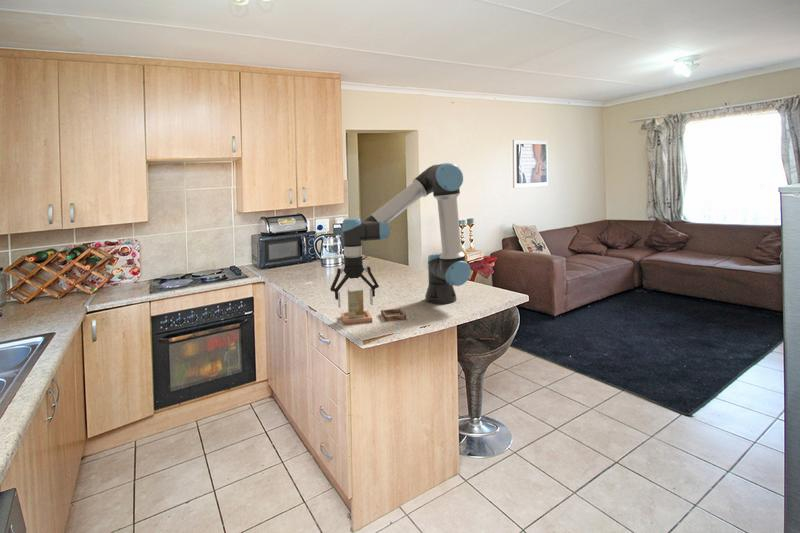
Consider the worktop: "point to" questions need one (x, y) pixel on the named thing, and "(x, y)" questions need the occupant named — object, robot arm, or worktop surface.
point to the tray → (348, 321)
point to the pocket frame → (395, 317)
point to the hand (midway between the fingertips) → (355, 305)
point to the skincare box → (355, 303)
